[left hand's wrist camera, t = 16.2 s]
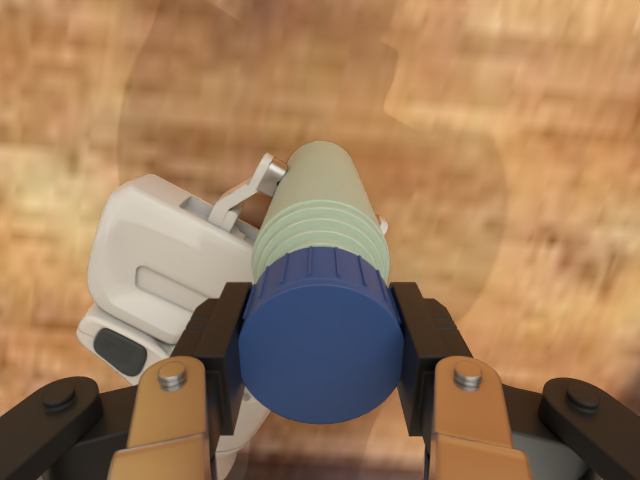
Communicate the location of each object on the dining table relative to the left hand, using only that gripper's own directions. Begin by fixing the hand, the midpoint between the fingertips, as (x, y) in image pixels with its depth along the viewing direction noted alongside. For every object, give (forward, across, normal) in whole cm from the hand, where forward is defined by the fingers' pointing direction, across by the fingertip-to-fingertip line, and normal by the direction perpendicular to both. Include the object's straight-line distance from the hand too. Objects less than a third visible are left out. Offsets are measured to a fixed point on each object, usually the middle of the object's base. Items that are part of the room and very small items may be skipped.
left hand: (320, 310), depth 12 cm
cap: (-2, 0, 0) cm, 2 cm away
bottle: (+18, 0, 0) cm, 18 cm away
